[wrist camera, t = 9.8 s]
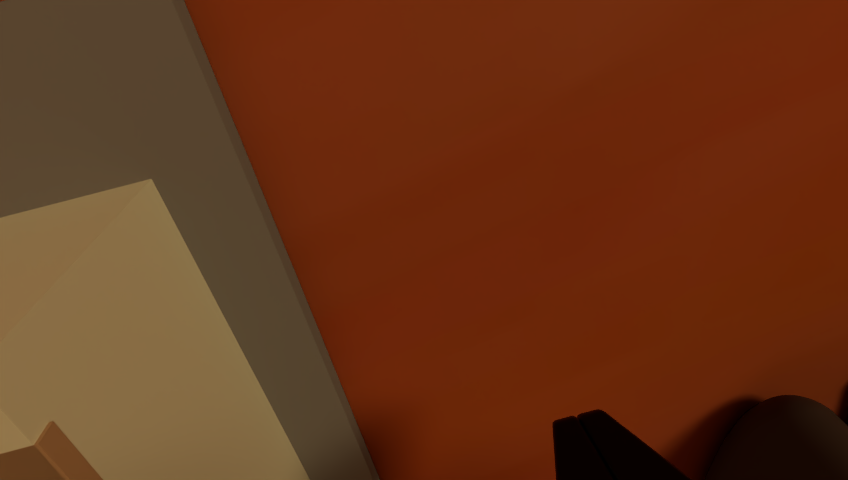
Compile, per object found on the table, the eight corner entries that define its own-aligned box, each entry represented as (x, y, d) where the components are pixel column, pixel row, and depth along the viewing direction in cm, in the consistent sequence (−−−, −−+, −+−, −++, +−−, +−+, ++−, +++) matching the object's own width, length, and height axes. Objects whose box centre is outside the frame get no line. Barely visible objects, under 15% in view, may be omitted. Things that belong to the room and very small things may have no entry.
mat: (169, -37, 8) (156, -37, 8) (401, 532, 16) (403, 552, 15) (-644, 164, 8) (-715, 178, 7) (-6, 640, 16) (-18, 663, 15)
